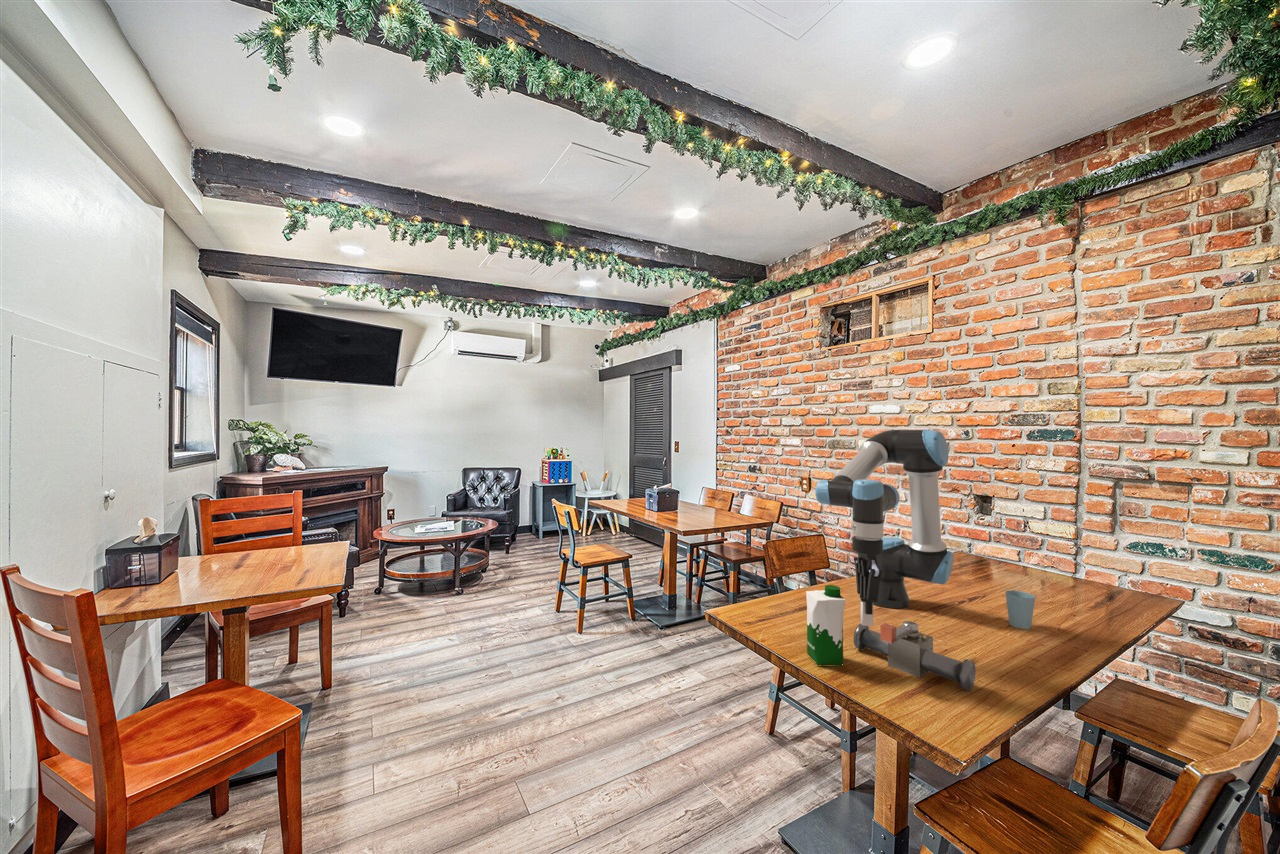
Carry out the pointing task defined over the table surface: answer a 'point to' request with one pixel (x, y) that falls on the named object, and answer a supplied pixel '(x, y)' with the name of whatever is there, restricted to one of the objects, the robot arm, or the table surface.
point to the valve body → (917, 656)
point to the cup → (1020, 608)
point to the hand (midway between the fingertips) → (866, 624)
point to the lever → (897, 631)
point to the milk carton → (825, 625)
